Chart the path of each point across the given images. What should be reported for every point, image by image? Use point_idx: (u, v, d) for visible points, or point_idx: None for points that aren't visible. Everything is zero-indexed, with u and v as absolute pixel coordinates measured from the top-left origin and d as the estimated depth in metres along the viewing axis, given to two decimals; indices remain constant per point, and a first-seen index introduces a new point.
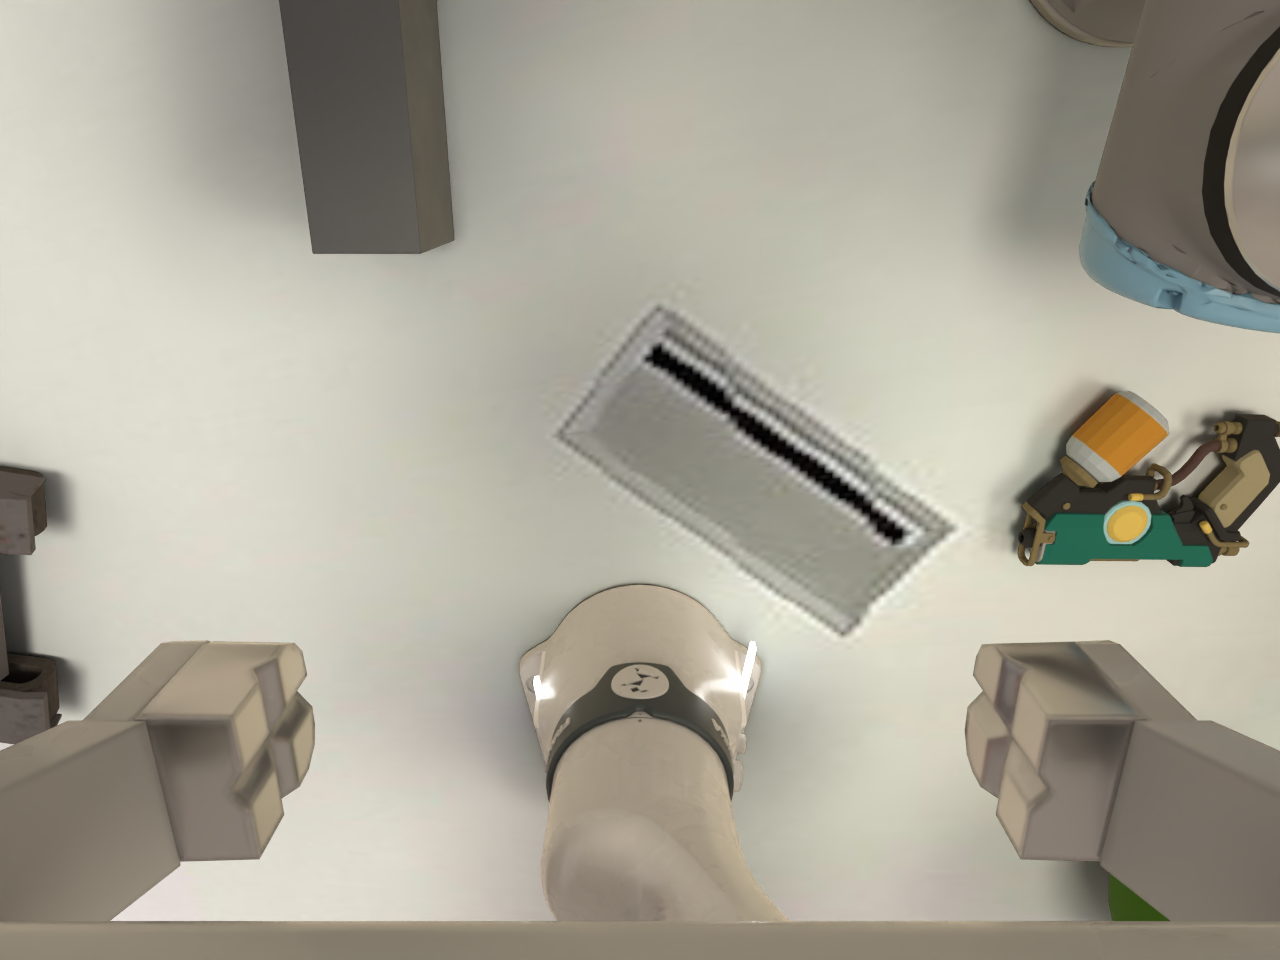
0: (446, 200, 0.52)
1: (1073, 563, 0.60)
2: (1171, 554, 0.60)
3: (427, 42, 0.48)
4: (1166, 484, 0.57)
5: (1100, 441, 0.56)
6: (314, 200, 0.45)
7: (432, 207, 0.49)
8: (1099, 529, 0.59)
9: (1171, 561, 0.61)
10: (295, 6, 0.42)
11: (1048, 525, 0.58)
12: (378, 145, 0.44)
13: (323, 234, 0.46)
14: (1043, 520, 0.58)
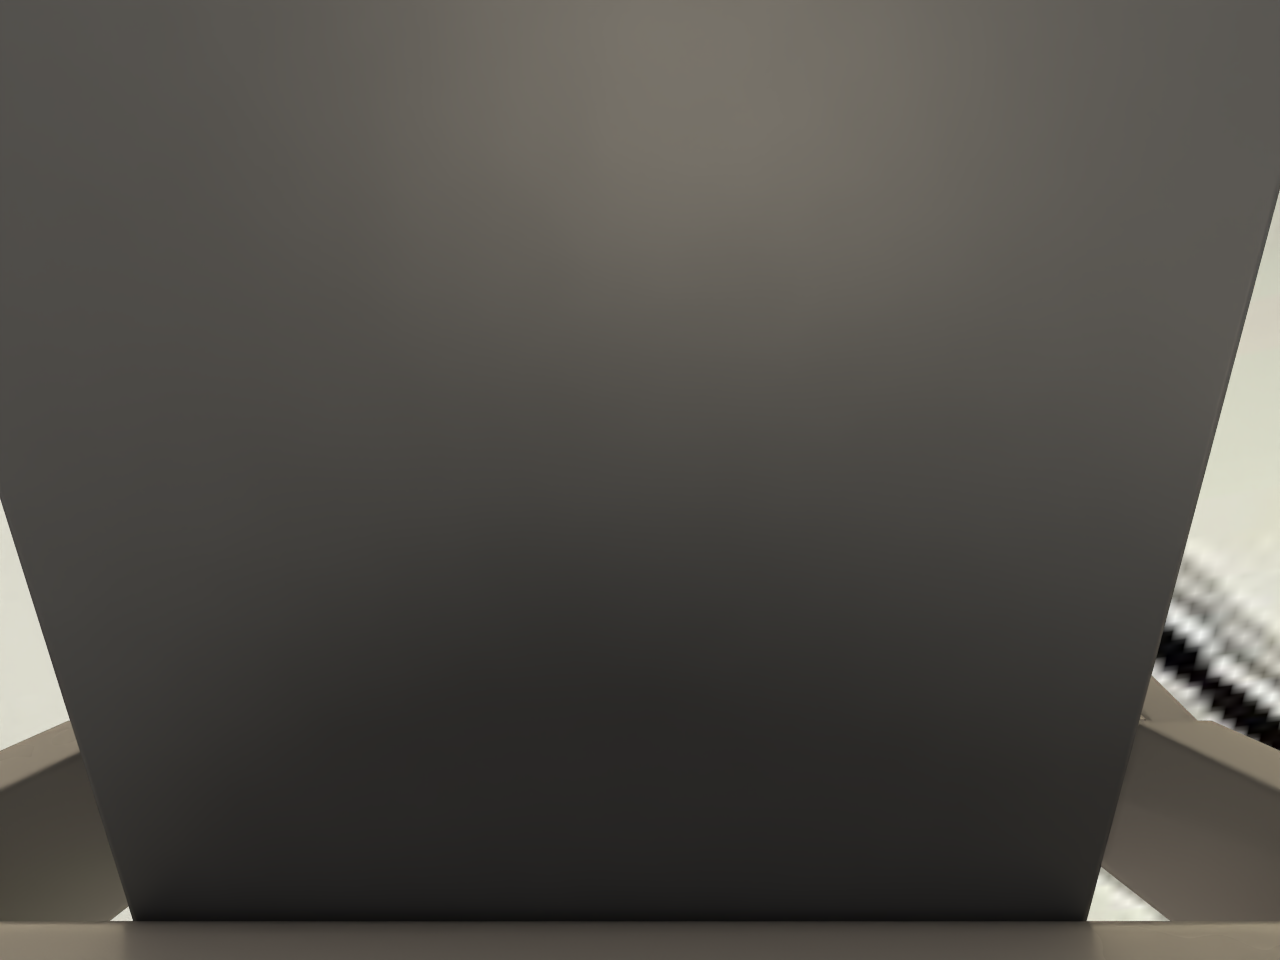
0: None
1: None
2: None
3: None
4: None
5: None
6: None
7: None
8: None
9: None
10: None
11: None
12: (839, 571, 0.04)
13: None
14: None
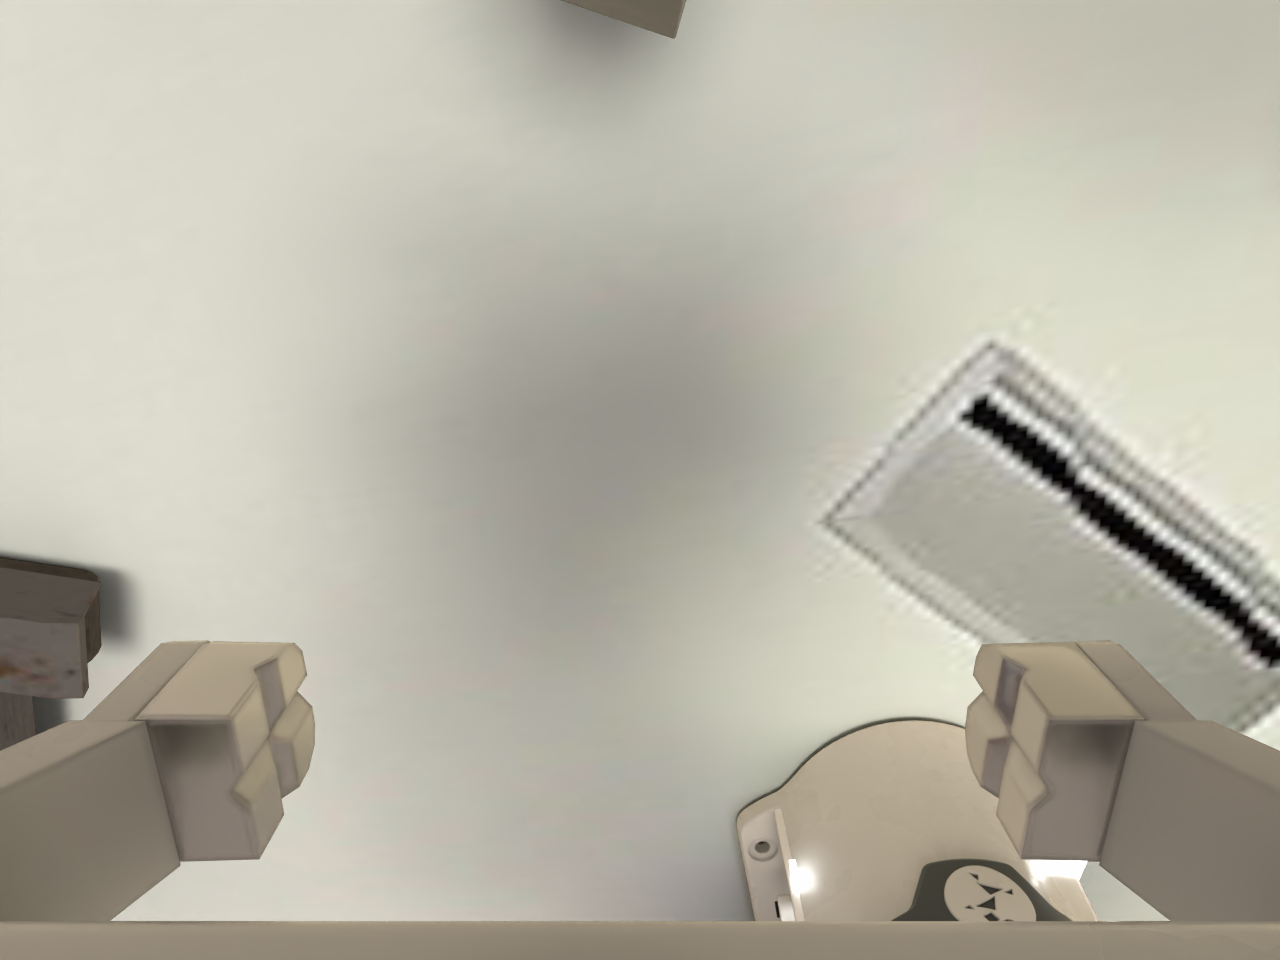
0: None
1: None
2: None
3: None
4: None
5: None
6: None
7: None
8: None
9: None
10: None
11: None
12: None
13: None
14: None
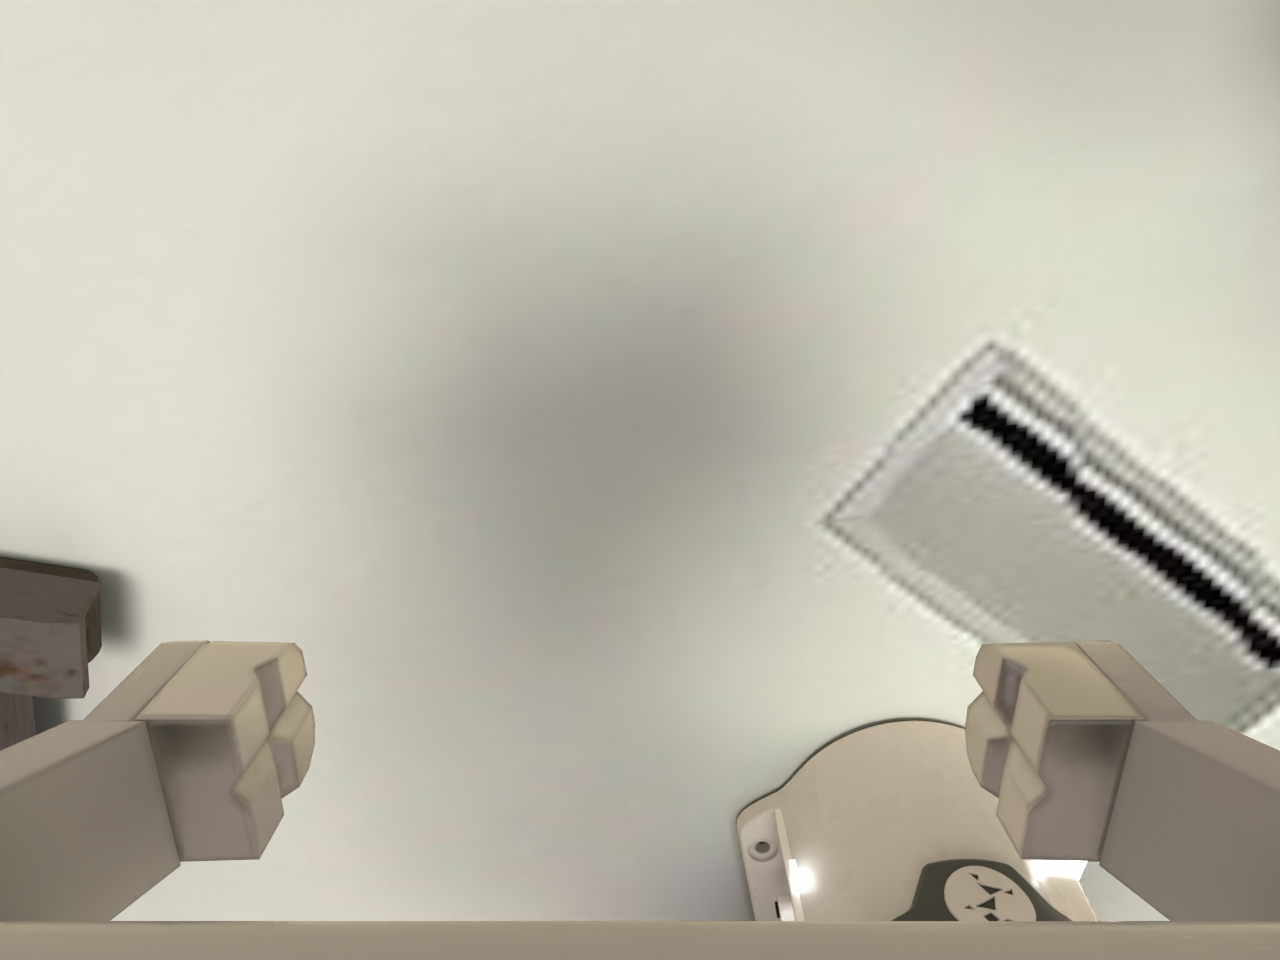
0: None
1: None
2: None
3: None
4: None
5: None
6: None
7: None
8: None
9: None
10: None
11: None
12: None
13: None
14: None
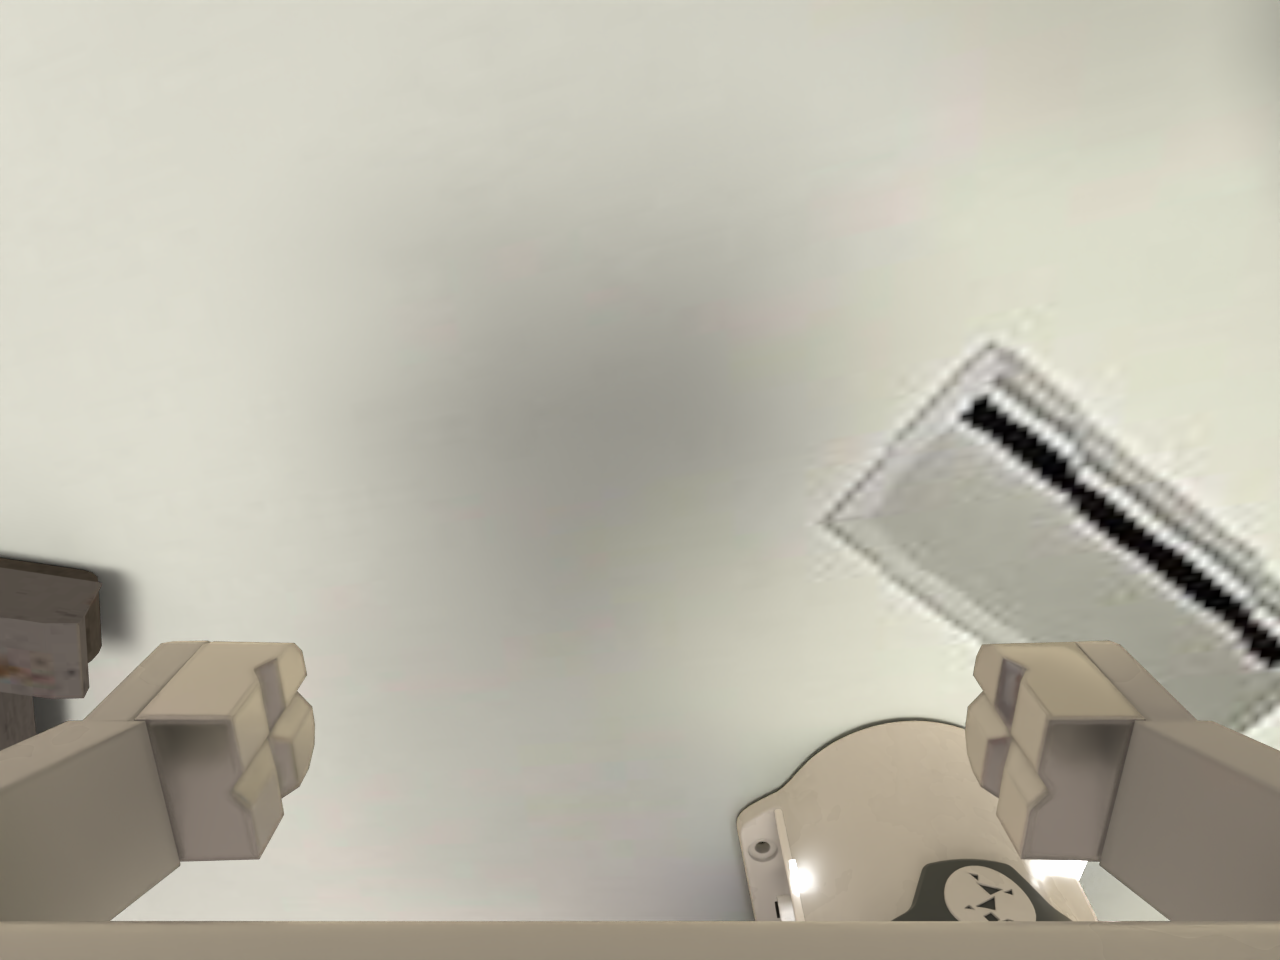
0: None
1: None
2: None
3: None
4: None
5: None
6: None
7: None
8: None
9: None
10: None
11: None
12: None
13: None
14: None
